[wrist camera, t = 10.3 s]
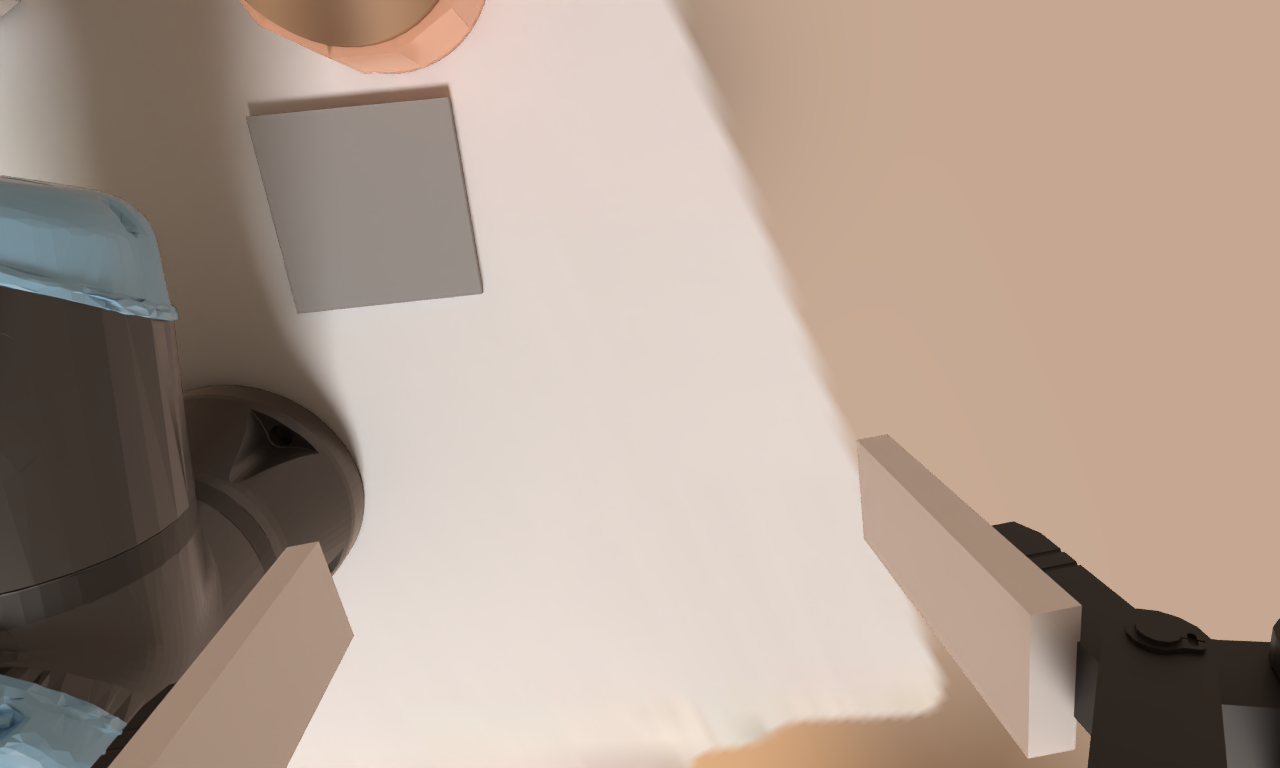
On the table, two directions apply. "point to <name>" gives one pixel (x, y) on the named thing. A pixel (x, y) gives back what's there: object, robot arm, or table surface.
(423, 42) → the bowl
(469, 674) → the table surface
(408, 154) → the mat
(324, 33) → the lid
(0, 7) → the tea box
